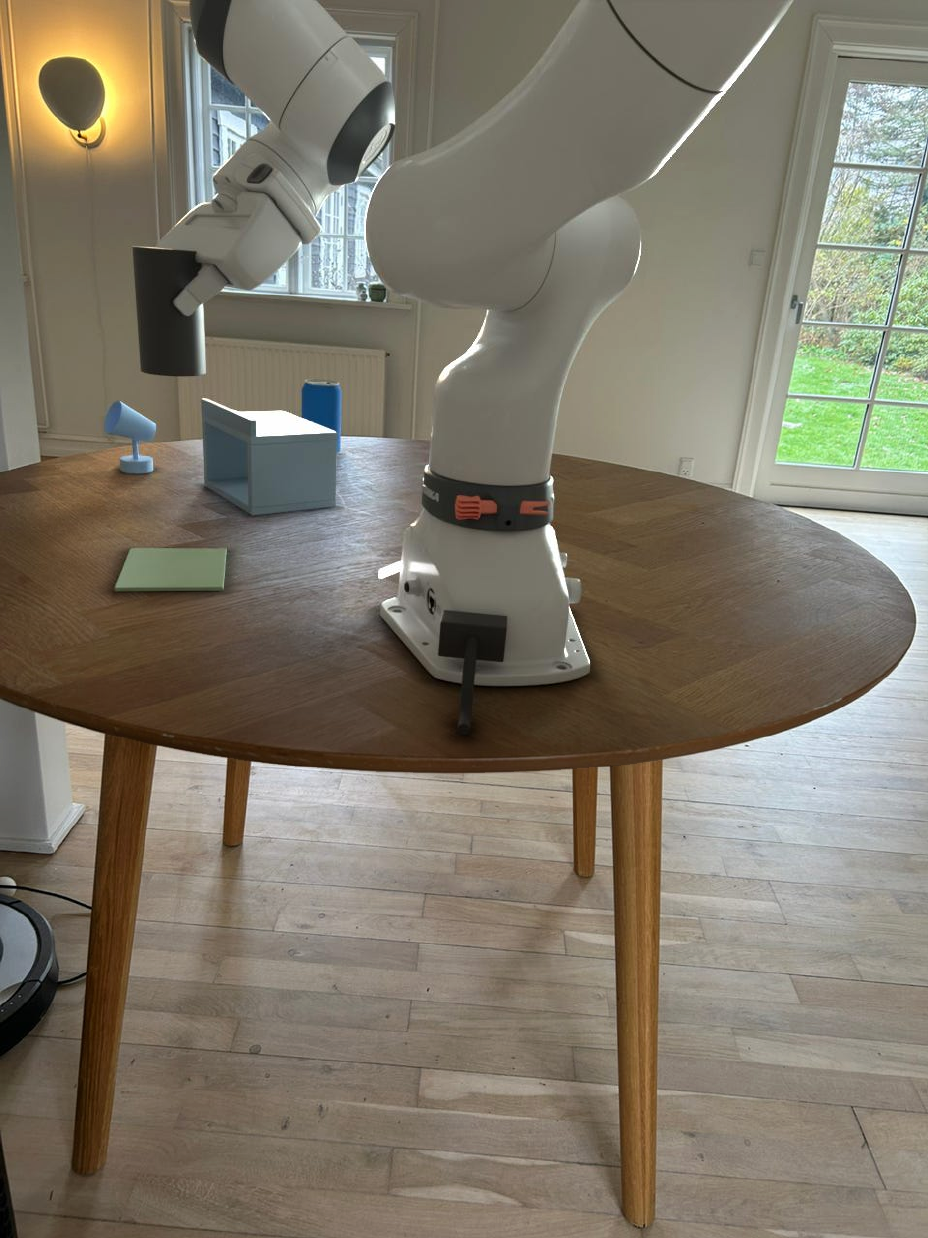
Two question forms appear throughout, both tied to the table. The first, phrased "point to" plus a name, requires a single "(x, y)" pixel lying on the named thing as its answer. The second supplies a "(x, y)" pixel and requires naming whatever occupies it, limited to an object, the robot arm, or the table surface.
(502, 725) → the table surface
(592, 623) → the table surface
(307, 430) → the shelf
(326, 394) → the beverage can
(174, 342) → the dark grey cylinder
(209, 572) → the mat
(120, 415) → the spotlight
